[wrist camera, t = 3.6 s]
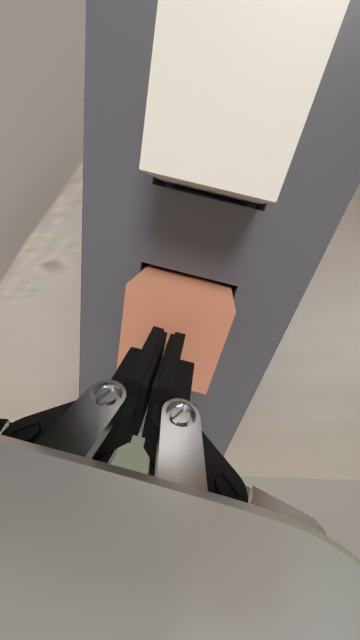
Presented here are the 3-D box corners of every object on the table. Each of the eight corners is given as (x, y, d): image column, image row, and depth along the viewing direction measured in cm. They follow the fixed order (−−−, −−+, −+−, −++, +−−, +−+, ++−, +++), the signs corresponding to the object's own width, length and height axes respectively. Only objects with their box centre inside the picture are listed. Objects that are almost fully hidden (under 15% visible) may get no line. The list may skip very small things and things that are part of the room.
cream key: (298, 75, 11) (355, -15, 7) (256, 204, 14) (276, 202, 9) (184, 49, 11) (164, -56, 7) (163, 181, 14) (139, 169, 9)
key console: (386, 47, 12) (460, -21, 8) (213, 439, 26) (213, 475, 23) (125, -10, 12) (88, -99, 9) (96, 407, 27) (78, 438, 23)
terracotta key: (230, 282, 16) (235, 312, 11) (208, 349, 18) (206, 394, 14) (151, 262, 16) (126, 284, 11) (140, 331, 18) (116, 370, 14)
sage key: (193, 393, 21) (187, 445, 16) (180, 433, 23) (171, 488, 19) (133, 377, 21) (110, 423, 16) (126, 419, 23) (105, 469, 19)
